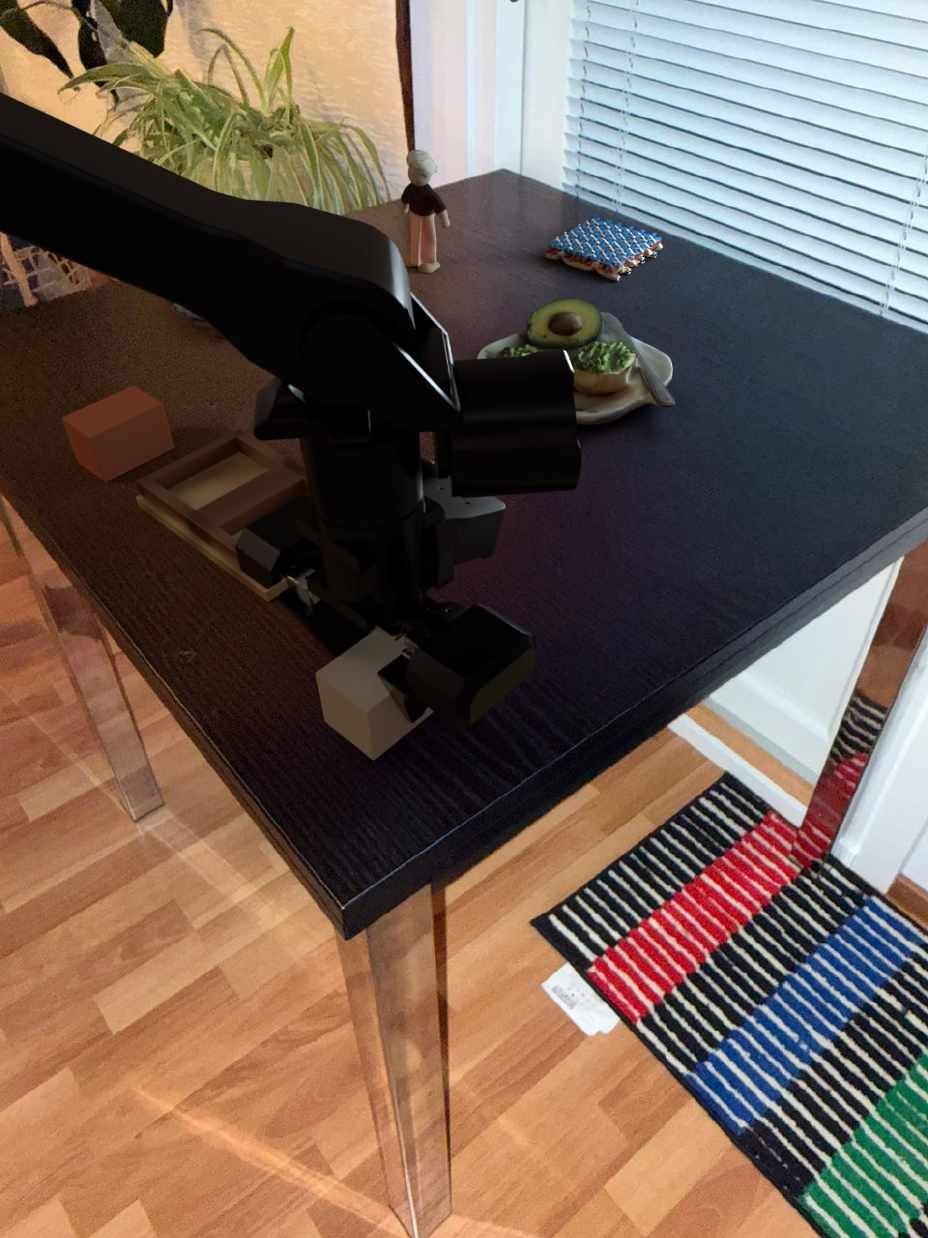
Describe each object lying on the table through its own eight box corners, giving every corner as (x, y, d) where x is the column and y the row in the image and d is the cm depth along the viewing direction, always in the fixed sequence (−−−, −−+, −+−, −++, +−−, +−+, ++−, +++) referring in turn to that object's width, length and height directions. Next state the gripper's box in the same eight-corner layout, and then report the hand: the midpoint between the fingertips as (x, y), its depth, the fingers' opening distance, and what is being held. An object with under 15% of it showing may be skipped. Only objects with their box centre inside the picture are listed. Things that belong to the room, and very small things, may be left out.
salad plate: (728, 391, 87) (737, 346, 84) (591, 462, 79) (595, 415, 76) (585, 317, 98) (588, 275, 95) (451, 373, 90) (450, 329, 87)
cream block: (373, 761, 55) (366, 712, 52) (324, 721, 57) (314, 672, 54) (454, 695, 59) (452, 646, 56) (405, 660, 61) (400, 611, 58)
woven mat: (540, 259, 108) (541, 242, 107) (592, 230, 114) (593, 213, 113) (615, 283, 104) (617, 265, 102) (665, 252, 109) (667, 234, 108)
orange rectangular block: (105, 483, 78) (89, 437, 75) (77, 462, 81) (60, 417, 77) (175, 447, 82) (162, 403, 79) (146, 429, 84) (133, 384, 81)
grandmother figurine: (388, 265, 108) (379, 149, 99) (407, 253, 110) (400, 138, 101) (442, 280, 105) (439, 162, 96) (461, 268, 107) (459, 151, 98)
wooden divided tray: (378, 531, 73) (375, 506, 71) (267, 602, 67) (261, 577, 66) (246, 449, 82) (241, 425, 80) (138, 506, 76) (130, 481, 74)
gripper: (613, 497, 46) (589, 702, 57) (360, 370, 55) (381, 567, 66) (459, 613, 40) (464, 816, 51) (205, 449, 49) (256, 650, 60)
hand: (389, 697), depth 57 cm, fingers closed on cream block, 4 cm apart
